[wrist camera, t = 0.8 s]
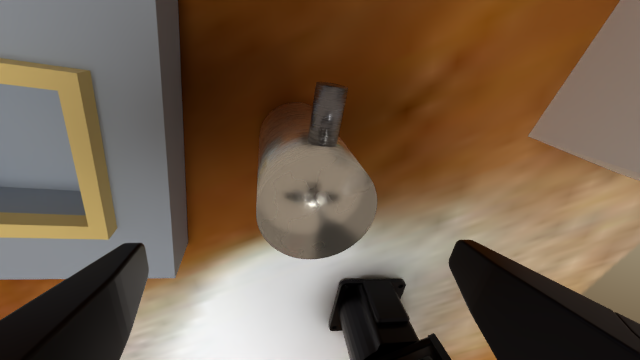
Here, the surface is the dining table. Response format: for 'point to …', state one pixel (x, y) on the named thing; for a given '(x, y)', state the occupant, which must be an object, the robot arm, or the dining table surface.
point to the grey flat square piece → (90, 135)
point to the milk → (601, 99)
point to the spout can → (311, 179)
